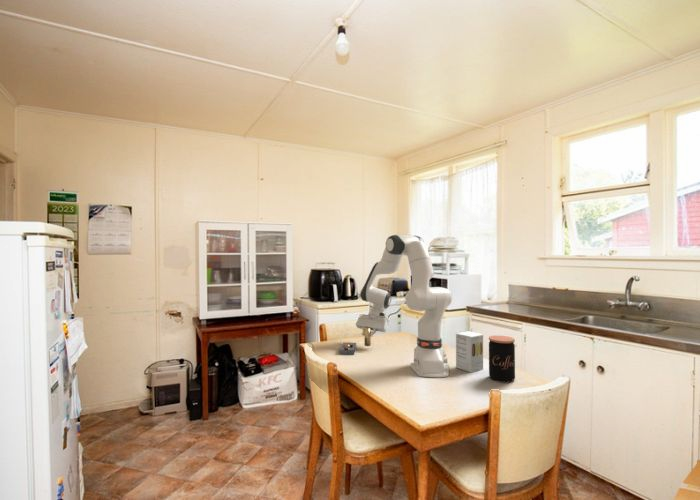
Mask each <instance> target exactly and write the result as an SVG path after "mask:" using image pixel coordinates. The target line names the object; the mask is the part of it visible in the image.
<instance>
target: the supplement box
mask: <svg viewBox="0 0 700 500" xmlns="http://www.w3.org/2000/svg"><path fill="white" fill-rule="evenodd" d="M455 367H456V368H457V369H460V370H462V371H464V372H465V371H466V372H469V373H474V372H478V371H481V370H484V334H482V333H478V332H473V331H468V330H467V331H462V332H457V333H455Z"/></svg>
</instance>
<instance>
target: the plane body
mask: <svg viewBox="0 0 700 500" xmlns="http://www.w3.org/2000/svg"><path fill="white" fill-rule="evenodd" d="M356 349H357V342H342V343H341V346H340V348H339V355H345V356H348V355H349V356H350V355H351V356H354V355H355V353H356Z"/></svg>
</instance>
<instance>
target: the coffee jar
mask: <svg viewBox="0 0 700 500" xmlns="http://www.w3.org/2000/svg"><path fill="white" fill-rule="evenodd" d="M488 340H489V342H488V376H489V377H490V379H491V380H492V381H495V382H498V381H499V383H506V382H507V383H512V382H514V381H515V378H516V345H515V338H514V337H510V336H507V335H490V336H489V337H488ZM511 381H512V382H511Z"/></svg>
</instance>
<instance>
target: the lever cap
mask: <svg viewBox="0 0 700 500" xmlns="http://www.w3.org/2000/svg"><path fill="white" fill-rule="evenodd" d="M370 332H372V330H371V328H364V335H363V336H364V337H363V338H364V342H363V343H364V347H371V344H372V343H371V342H372V341H371V340H372V337H371V336H369V334H370Z"/></svg>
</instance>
